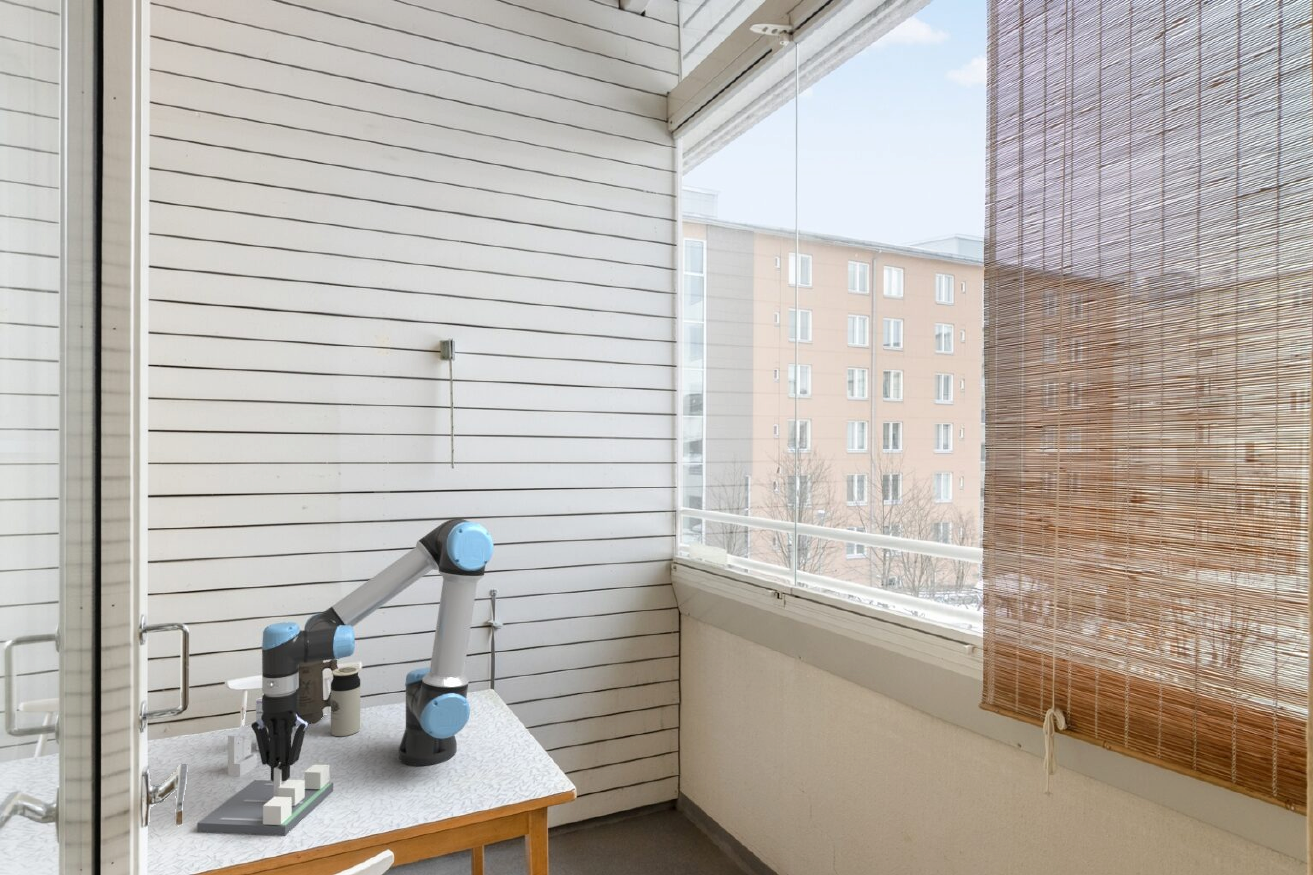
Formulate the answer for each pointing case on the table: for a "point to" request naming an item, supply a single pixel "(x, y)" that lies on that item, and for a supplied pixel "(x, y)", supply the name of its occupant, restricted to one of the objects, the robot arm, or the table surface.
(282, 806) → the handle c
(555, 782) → the table surface
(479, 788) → the table surface
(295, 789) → the white cubic block
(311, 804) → the grey striped board
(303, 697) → the beer stein
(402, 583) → the robot arm
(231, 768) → the white wedge bracket
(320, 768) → the white cubic piece
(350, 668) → the travel mug
